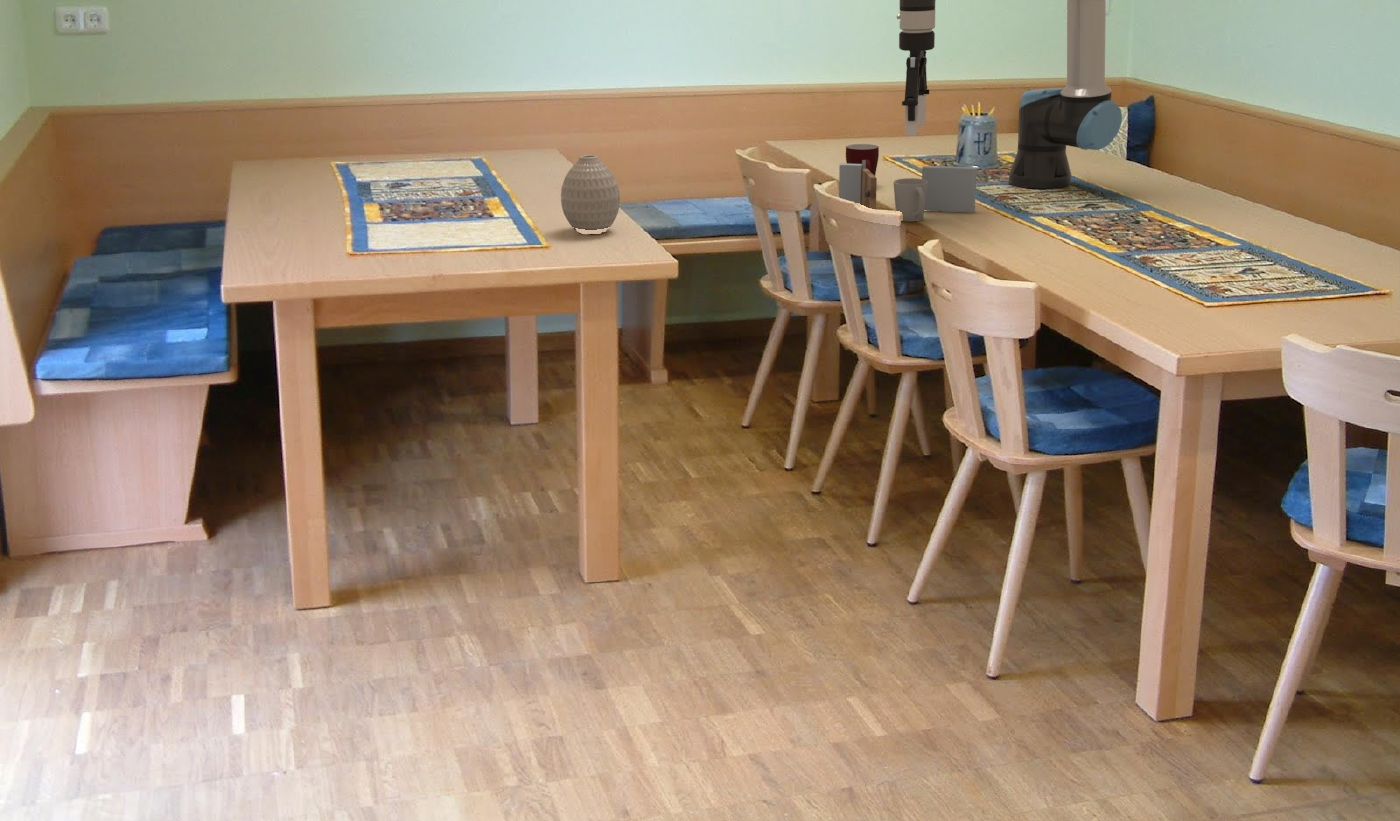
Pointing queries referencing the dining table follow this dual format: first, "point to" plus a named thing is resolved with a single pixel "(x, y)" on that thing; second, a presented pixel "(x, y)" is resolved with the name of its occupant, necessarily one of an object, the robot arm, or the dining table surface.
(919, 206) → the cup
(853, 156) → the mug
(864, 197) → the door
